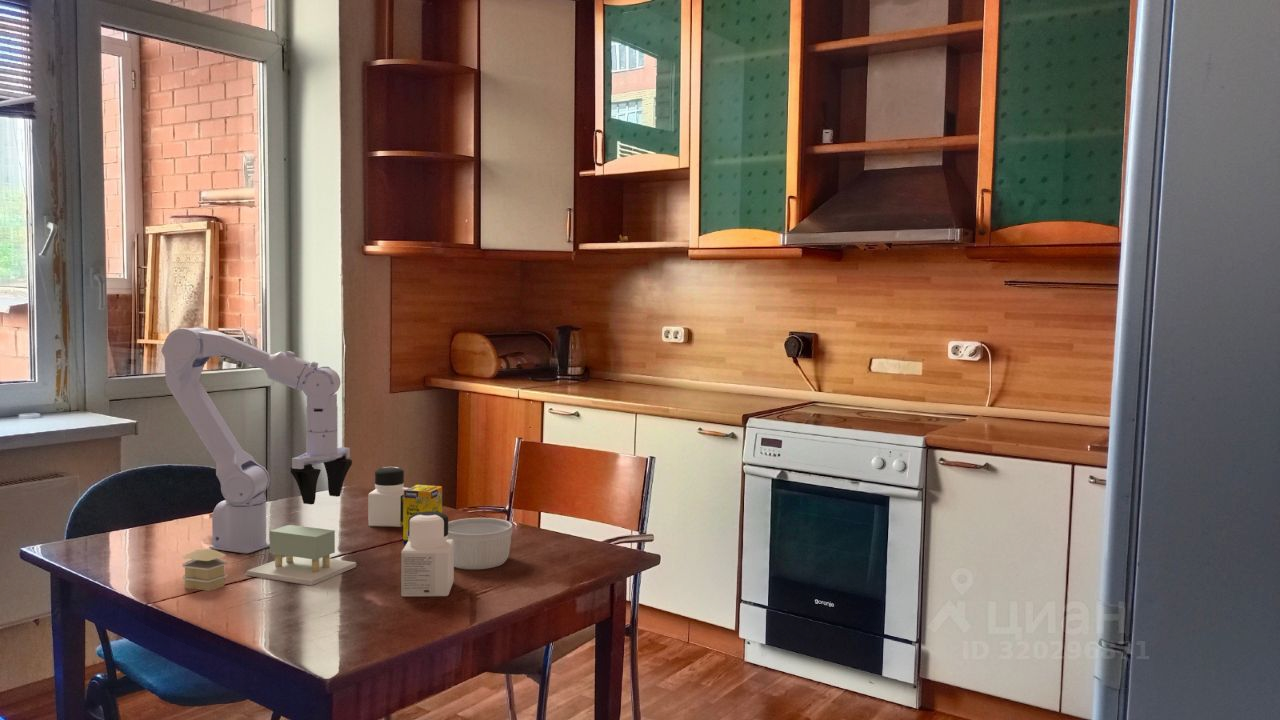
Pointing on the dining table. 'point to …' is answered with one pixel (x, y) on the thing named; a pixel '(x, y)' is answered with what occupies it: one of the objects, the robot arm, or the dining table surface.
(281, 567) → the cream peg board
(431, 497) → the supplement box
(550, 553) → the dining table surface
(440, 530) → the container
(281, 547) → the rectangular block
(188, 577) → the beige tiered box
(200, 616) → the dining table surface
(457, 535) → the ramekin
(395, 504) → the medicine bottle
